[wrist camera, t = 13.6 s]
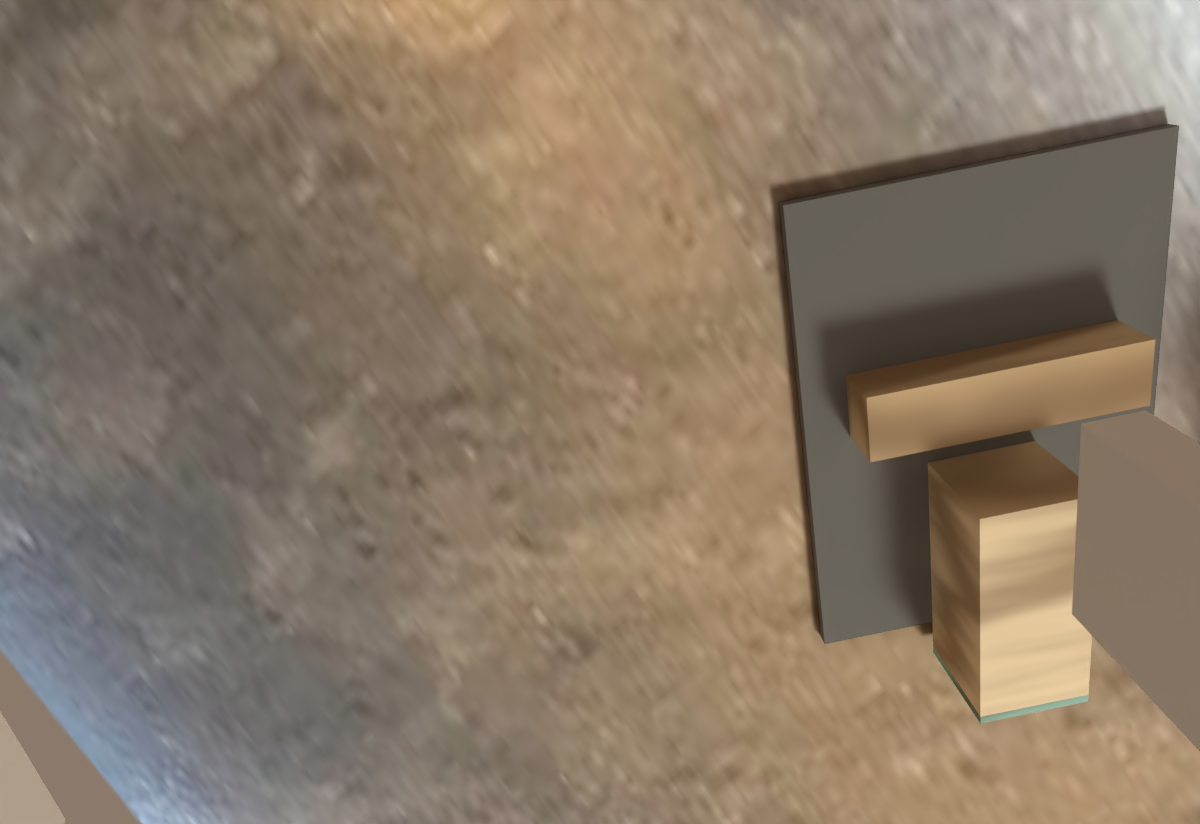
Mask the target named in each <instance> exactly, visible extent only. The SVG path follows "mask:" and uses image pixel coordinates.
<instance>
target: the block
mask: <svg viewBox="0 0 1200 824" xmlns="http://www.w3.org/2000/svg"><path fill="white" fill-rule="evenodd" d="M1078 480H1079V476H1077V475H1076V474H1075V473H1074V472H1073V471H1071V470H1070V469H1069V468H1068V467H1066V466H1065V465H1064V464H1063V463H1061V462H1060V461H1059V460H1058V459H1057V458H1055V457H1054V456H1053V455H1052V454H1050V453H1049V452H1048V451H1047V450H1046V449H1044V448H1043V447H1042V446H1041V445H1039V444H1038V443H1037V442H1036V441H1032V442H1027V443H1023V444H1018V445H1013V446H1008V447H1003V448H998V449H993V450H988V451H983V452H978V453H973V454H968V455H964V456H959V457H954V458H949V459H944V460H939V461H934V462H929V463H928V490H929V523H930V555H931V587H932V620H933V652H934V654H935V655H936V657H937V658H938V660H939V661H940V663H941V664H942V666H943V667H944V669H945V670H946V672H947V673H948V675H949V676H950V678H951V679H952V681H953V683H954V684H955V686H956V687H957V689H958V690H959V692H960V693H961V695H962V696H963V698H964V699H965V701H966V702H967V704H968V705H969V707H970V708H971V710H972V711H973V713H974V714H975V716H976V717H977V719H978V720H979V722H980V723H985V722H990V721H995V720H1000V719H1005V718H1010V717H1014V716H1019V715H1024V714H1029V713H1034V712H1039V711H1044V710H1048V709H1053V708H1058V707H1063V706H1068V705H1073V704H1078V703H1082V702H1087V701H1088V692H1089V676H1090V660H1091V643H1092V635H1091V634H1090V633H1089V632H1088V631H1087V630H1086V629H1085V628H1084V626H1083V625H1082V624H1081V623H1080V622H1079V621H1078V620H1077V619H1076V618H1075V617H1074V616H1073V615H1072V601H1073V581H1074V561H1075V541H1076V520H1077V500H1078Z"/></svg>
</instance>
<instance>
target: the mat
mask: <svg viewBox="0 0 1200 824" xmlns="http://www.w3.org/2000/svg"><path fill="white" fill-rule="evenodd" d="M1178 131H1179V126H1177V125H1171V124H1167V125H1162V126H1157V127H1152V128H1147V129H1142V130H1137V131H1133V132H1128V133H1123V134H1118V135H1113V136H1108V137H1103V138H1098V139H1093V140H1088V141H1083V142H1078V143H1073V144H1068V145H1063V146H1058V147H1053V148H1048V149H1043V150H1038V151H1033V152H1028V153H1023V154H1018V155H1013V156H1008V157H1003V158H998V159H993V160H988V161H983V162H978V163H973V164H968V165H963V166H959V167H954V168H949V169H944V170H939V171H934V172H929V173H924V174H919V175H914V176H909V177H904V178H899V179H894V180H889V181H884V182H879V183H874V184H869V185H864V186H859V187H854V188H849V189H844V190H839V191H834V192H829V193H824V194H819V195H814V196H809V197H804V198H799V199H794V200H789V201H785V202H780V203H779V205H780V216H781V226H782V237H783V247H784V257H785V268H786V278H787V289H788V299H789V309H790V320H791V330H792V341H793V351H794V361H795V372H796V382H797V392H798V403H799V413H800V424H801V434H802V444H803V455H804V465H805V476H806V486H807V496H808V507H809V517H810V527H811V538H812V548H813V559H814V569H815V579H816V590H817V600H818V611H819V621H820V631H821V637H822V639H823V641H824V643H825V644H827V643H832V642H837V641H842V640H847V639H852V638H857V637H861V636H866V635H871V634H876V633H881V632H886V631H891V630H896V629H900V628H905V627H910V626H915V625H920V624H925V623H930V622H933V620H932V587H931V555H930V523H929V490H928V463H929V462H934V461H939V460H944V459H949V458H954V457H959V456H964V455H968V454H973V453H978V452H983V451H988V450H993V449H998V448H1003V447H1008V446H1013V445H1018V444H1023V443H1027V442H1032V441H1036V442H1037V443H1038V444H1039V445H1041V446H1042V447H1043V448H1044V449H1046V450H1047V451H1048V452H1049V453H1050V454H1052V455H1053V456H1054V457H1055V458H1057V459H1058V460H1059V461H1060V462H1061V463H1063V464H1064V465H1065V466H1066V467H1068V468H1069V469H1070V470H1071V471H1073V472H1074V473H1075V474H1076V475H1077V476H1079V460H1080V439H1081V423H1086V422H1091V421H1096V420H1101V419H1106V418H1111V417H1115V416H1120V415H1125V414H1130V413H1135V412H1140V411H1145V410H1146V411H1148V412H1149V413H1151V414H1153V415H1154V408H1155V396H1156V385H1157V373H1158V362H1159V350H1160V339H1161V327H1162V316H1163V304H1164V293H1165V281H1166V269H1167V258H1168V246H1169V235H1170V223H1171V212H1172V200H1173V189H1174V177H1175V166H1176V154H1177V143H1178ZM1116 320H1118V321H1120V322H1122V323H1124V324H1126V325H1128V326H1130V327H1132V328H1134V329H1136V330H1138V331H1140V332H1142V333H1144V334H1146V335H1148V336H1150V337H1152V338H1154V339H1155V351H1154V363H1153V375H1152V387H1151V399H1150V406H1145V407H1140V408H1135V409H1130V410H1126V411H1121V412H1116V413H1111V414H1106V415H1101V416H1096V417H1091V418H1086V419H1081V420H1076V421H1071V422H1067V423H1062V424H1057V425H1052V426H1047V427H1042V428H1037V429H1032V430H1027V431H1022V432H1017V433H1012V434H1008V435H1003V436H998V437H993V438H988V439H983V440H978V441H973V442H968V443H963V444H958V445H954V446H949V447H944V448H939V449H934V450H929V451H924V452H919V453H914V454H909V455H904V456H899V457H895V458H890V459H885V460H880V461H875V462H870V461H869V460H868V459H867V457H866V456H865V455H864V454H863V452H862V451H861V450H860V449H859V447H858V446H857V445H856V444H855V442H854V441H853V440H852V439H851V437H850V429H849V415H848V401H847V386H846V375H850V374H855V373H860V372H865V371H870V370H875V369H880V368H885V367H889V366H894V365H899V364H904V363H909V362H914V361H919V360H924V359H929V358H934V357H939V356H944V355H949V354H954V353H959V352H963V351H968V350H973V349H978V348H983V347H988V346H993V345H998V344H1003V343H1008V342H1013V341H1018V340H1023V339H1028V338H1032V337H1037V336H1042V335H1047V334H1052V333H1057V332H1062V331H1067V330H1072V329H1077V328H1082V327H1087V326H1092V325H1097V324H1102V323H1106V322H1111V321H1116Z"/></svg>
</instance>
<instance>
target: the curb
mask: <svg viewBox="0 0 1200 824" xmlns="http://www.w3.org/2000/svg"><path fill="white" fill-rule="evenodd" d="M1154 351H1155V339H1154V338H1152V337H1150V336H1148V335H1146V334H1144V333H1142V332H1140V331H1138V330H1136V329H1134V328H1132V327H1130V326H1128V325H1126V324H1124V323H1122V322H1120V321H1118V320H1116V321H1111V322H1106V323H1102V324H1097V325H1092V326H1087V327H1082V328H1077V329H1072V330H1067V331H1062V332H1057V333H1052V334H1047V335H1042V336H1037V337H1032V338H1028V339H1023V340H1018V341H1013V342H1008V343H1003V344H998V345H993V346H988V347H983V348H978V349H973V350H968V351H963V352H959V353H954V354H949V355H944V356H939V357H934V358H929V359H924V360H919V361H914V362H909V363H904V364H899V365H894V366H889V367H885V368H880V369H875V370H870V371H865V372H860V373H855V374H850V375H846V386H847V401H848V415H849V429H850V437H851V439H852V440H853V441H854V442H855V444H856V445H857V446H858V447H859V449H860V450H861V451H862V452H863V454H864V455H865V456H866V457H867V459H868V460H869V461H870V462H875V461H880V460H885V459H890V458H895V457H899V456H904V455H909V454H914V453H919V452H924V451H929V450H934V449H939V448H944V447H949V446H954V445H958V444H963V443H968V442H973V441H978V440H983V439H988V438H993V437H998V436H1003V435H1008V434H1012V433H1017V432H1022V431H1027V430H1032V429H1037V428H1042V427H1047V426H1052V425H1057V424H1062V423H1067V422H1071V421H1076V420H1081V419H1086V418H1091V417H1096V416H1101V415H1106V414H1111V413H1116V412H1121V411H1126V410H1130V409H1135V408H1140V407H1145V406H1150V399H1151V387H1152V375H1153V363H1154Z"/></svg>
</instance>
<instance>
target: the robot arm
mask: <svg viewBox="0 0 1200 824" xmlns="http://www.w3.org/2000/svg"><path fill="white" fill-rule="evenodd" d="M1072 615H1073V616H1074V617H1075V618H1076V619H1077V620H1078V621H1079V622H1080V623H1081V624H1082V625H1083V626H1084V628H1085V629H1086V630H1087V631H1088V632H1089V633H1090V634H1091V635H1092V636H1093V637H1094V638H1095V639H1096V640H1097V642H1098V643H1099V644H1100V645H1101V646H1102V647H1103V648H1104V649H1105V650H1106V651H1107V652H1108V653H1109V654H1110V655H1111V657H1112V658H1113V659H1114V660H1115V661H1116V662H1117V663H1118V664H1119V665H1120V666H1121V667H1122V668H1123V669H1124V670H1125V672H1126V673H1127V674H1128V675H1129V676H1130V677H1131V678H1132V679H1133V680H1134V681H1135V682H1136V683H1137V684H1138V685H1139V687H1140V688H1141V689H1142V690H1143V691H1144V692H1145V693H1146V694H1147V695H1148V696H1149V697H1150V698H1151V699H1152V700H1153V702H1154V703H1155V704H1156V705H1157V706H1158V707H1159V708H1160V709H1161V710H1162V711H1163V712H1164V713H1165V714H1166V716H1167V717H1168V718H1169V719H1170V720H1171V721H1172V722H1173V723H1174V724H1175V725H1176V726H1177V727H1178V728H1179V729H1180V731H1181V732H1182V733H1183V734H1184V735H1185V736H1186V737H1187V738H1188V739H1189V740H1190V741H1191V742H1192V743H1193V744H1194V746H1195V747H1196V748H1197V749H1198V750H1199V751H1200V444H1199V443H1197V442H1196V441H1194V440H1192V439H1191V438H1189V437H1188V436H1186V435H1184V434H1183V433H1181V432H1180V431H1178V430H1176V429H1175V428H1173V427H1172V426H1170V425H1169V424H1167V423H1165V422H1164V421H1162V420H1161V419H1159V418H1157V417H1156V416H1154V415H1153V414H1151V413H1149V412H1148V411H1146V410H1145V411H1140V412H1135V413H1130V414H1125V415H1120V416H1115V417H1111V418H1106V419H1101V420H1096V421H1091V422H1086V423H1081V439H1080V460H1079V480H1078V500H1077V520H1076V541H1075V561H1074V581H1073V601H1072ZM65 821H66V820H65V818H64V817H63V815H62V813H61V812H60V810H59V808H58V807H57V805H56V803H55V802H54V800H53V799H52V797H51V795H50V793H49V792H48V790H47V788H46V787H45V785H44V784H43V782H42V780H41V778H40V777H39V775H38V773H37V772H36V770H35V768H34V767H33V765H32V763H31V762H30V760H29V758H28V757H27V755H26V753H25V752H24V750H23V748H22V747H21V745H20V743H19V742H18V740H17V738H16V737H15V735H14V733H13V732H12V730H11V728H10V727H9V725H8V723H7V722H6V720H5V718H4V717H3V716H2V713H1V712H0V824H64V823H65Z"/></svg>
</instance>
